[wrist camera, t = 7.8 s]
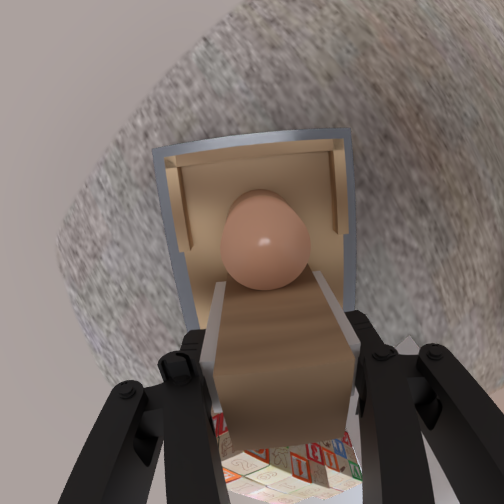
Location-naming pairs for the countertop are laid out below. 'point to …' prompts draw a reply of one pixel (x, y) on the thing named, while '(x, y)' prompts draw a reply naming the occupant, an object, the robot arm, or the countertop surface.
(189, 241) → the carrier tray
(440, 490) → the milk
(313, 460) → the stack of blocks
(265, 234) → the brown egg
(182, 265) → the dock
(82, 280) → the countertop surface
